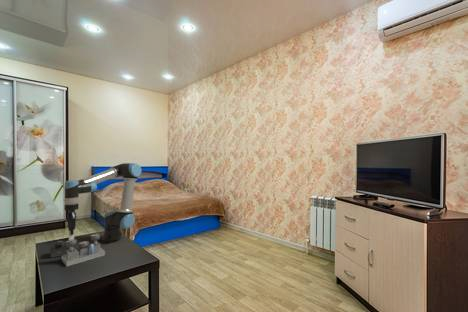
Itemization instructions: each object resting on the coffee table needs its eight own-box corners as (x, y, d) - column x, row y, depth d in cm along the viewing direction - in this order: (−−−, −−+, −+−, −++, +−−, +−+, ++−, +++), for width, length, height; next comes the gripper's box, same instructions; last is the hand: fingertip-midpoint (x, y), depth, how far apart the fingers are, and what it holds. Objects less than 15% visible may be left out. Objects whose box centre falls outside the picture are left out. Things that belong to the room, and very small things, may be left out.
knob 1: (75, 248, 151) (75, 238, 151) (77, 250, 147) (77, 240, 147) (65, 251, 147) (65, 240, 147) (67, 253, 143) (67, 242, 143)
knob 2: (98, 242, 161) (98, 232, 161) (101, 244, 157) (101, 234, 158) (89, 245, 157) (89, 234, 157) (92, 247, 153) (92, 236, 153)
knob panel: (98, 249, 165) (98, 240, 165) (105, 255, 155) (105, 245, 155) (61, 260, 148) (61, 249, 148) (66, 266, 139) (66, 255, 139)
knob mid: (87, 250, 156) (87, 240, 156) (89, 252, 152) (89, 242, 152) (77, 253, 152) (77, 242, 152) (80, 255, 148) (80, 244, 148)
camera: (69, 250, 165) (69, 236, 165) (75, 252, 160) (75, 239, 160) (46, 256, 154) (46, 242, 154) (52, 260, 149) (52, 245, 149)
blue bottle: (93, 252, 153) (93, 243, 153) (94, 253, 151) (94, 244, 151) (89, 253, 151) (89, 244, 151) (90, 254, 150) (90, 245, 150)
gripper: (62, 203, 149) (62, 238, 148) (67, 205, 140) (66, 243, 140) (75, 201, 154) (75, 235, 154) (81, 204, 146) (80, 240, 145)
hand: (71, 239), depth 147 cm, fingers closed
